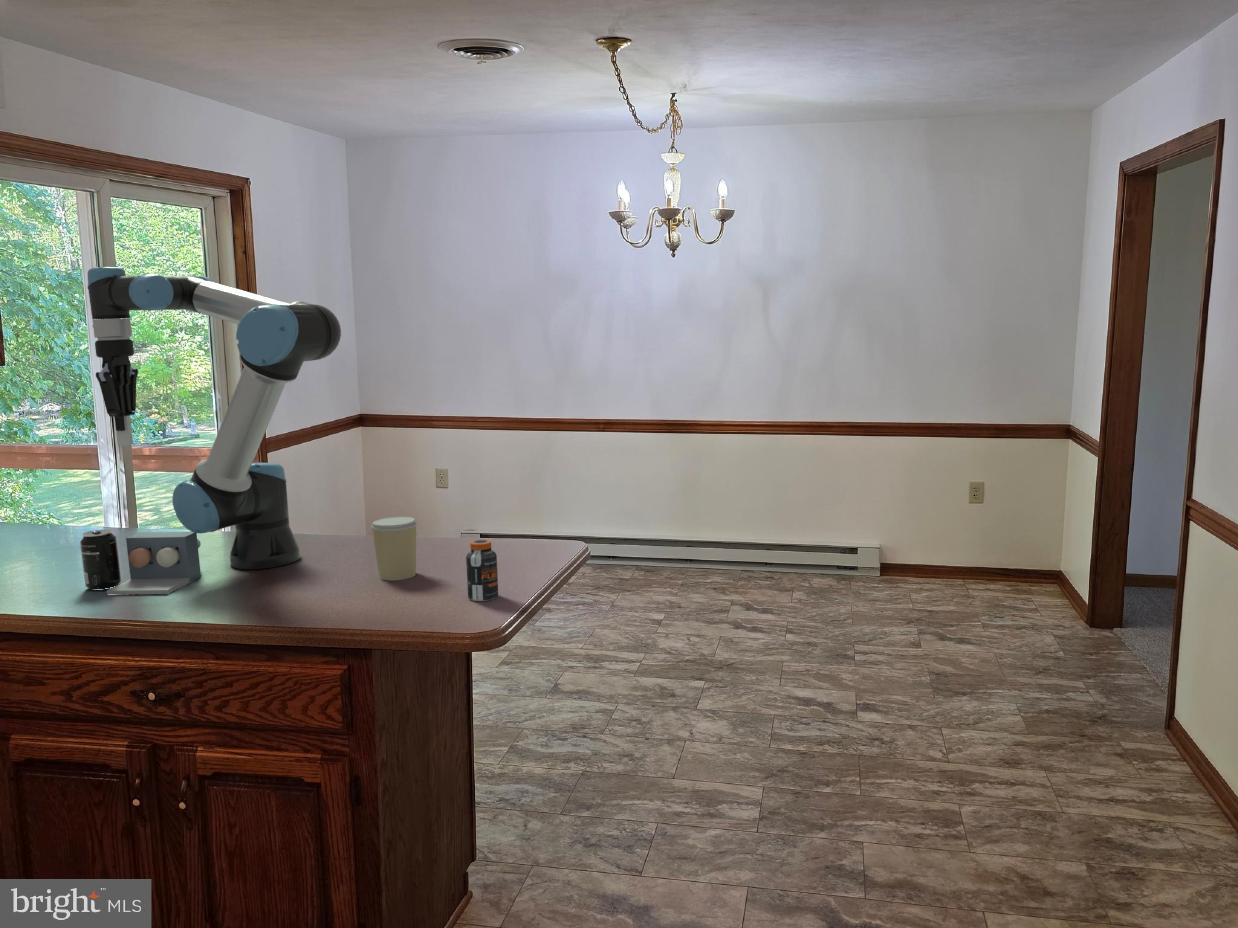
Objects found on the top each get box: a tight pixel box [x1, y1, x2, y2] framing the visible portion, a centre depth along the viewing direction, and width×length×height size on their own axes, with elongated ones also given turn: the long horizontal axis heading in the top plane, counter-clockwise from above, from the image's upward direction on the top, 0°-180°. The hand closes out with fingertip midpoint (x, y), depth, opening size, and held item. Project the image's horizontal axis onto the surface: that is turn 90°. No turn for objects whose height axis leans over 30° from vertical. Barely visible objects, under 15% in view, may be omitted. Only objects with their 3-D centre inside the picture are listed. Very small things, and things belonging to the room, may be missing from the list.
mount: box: [106, 531, 202, 595], centre depth 208 cm, size 13×14×10 cm
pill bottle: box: [465, 539, 499, 602], centre depth 191 cm, size 6×6×11 cm
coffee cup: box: [371, 516, 417, 582], centre depth 209 cm, size 9×9×12 cm
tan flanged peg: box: [128, 547, 152, 568], centre depth 214 cm, size 4×13×4 cm, turn 177°
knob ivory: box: [156, 538, 202, 567], centre depth 214 cm, size 4×13×4 cm, turn 176°
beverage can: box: [79, 528, 122, 590], centre depth 208 cm, size 7×7×12 cm
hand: (125, 444), depth 220 cm, fingers closed
